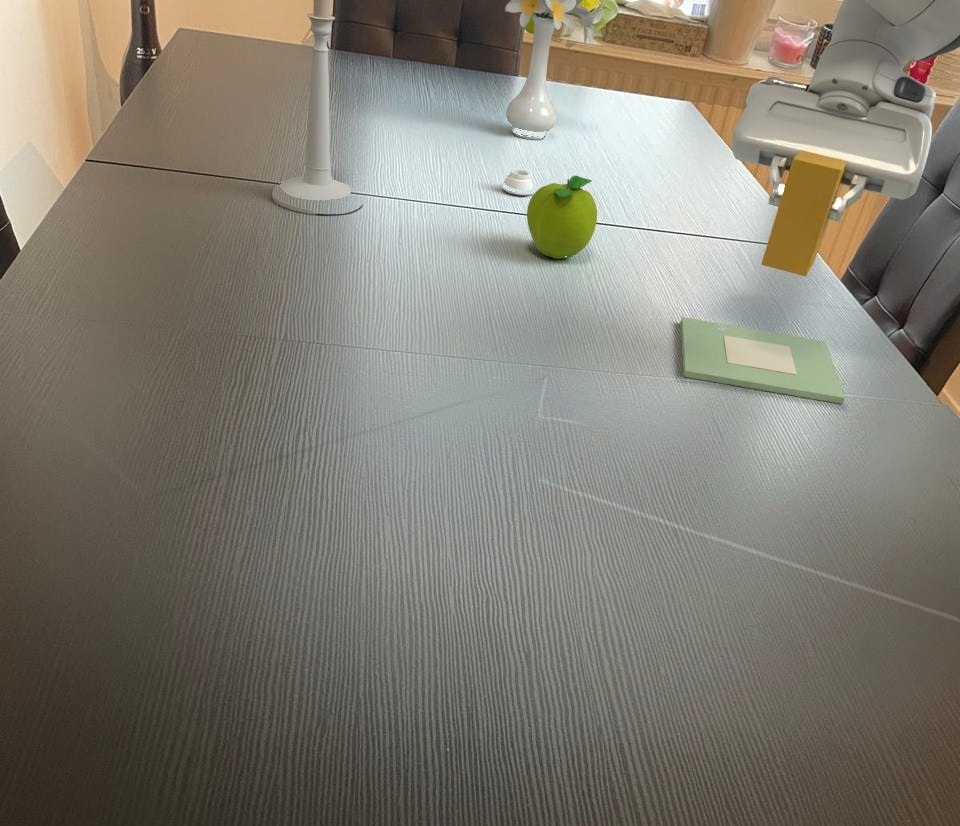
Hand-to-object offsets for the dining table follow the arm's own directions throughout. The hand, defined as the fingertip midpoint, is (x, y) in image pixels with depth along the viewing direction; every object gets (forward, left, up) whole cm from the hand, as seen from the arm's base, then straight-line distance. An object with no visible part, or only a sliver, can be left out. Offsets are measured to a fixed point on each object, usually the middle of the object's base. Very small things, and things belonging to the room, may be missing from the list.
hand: (804, 210), depth 108 cm
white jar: (+34, -52, -18) cm, 65 cm away
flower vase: (+35, -89, -18) cm, 97 cm away
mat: (0, -1, -18) cm, 18 cm away
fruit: (+26, -26, -18) cm, 41 cm away
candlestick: (+61, -32, -18) cm, 71 cm away
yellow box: (0, -1, -6) cm, 6 cm away
